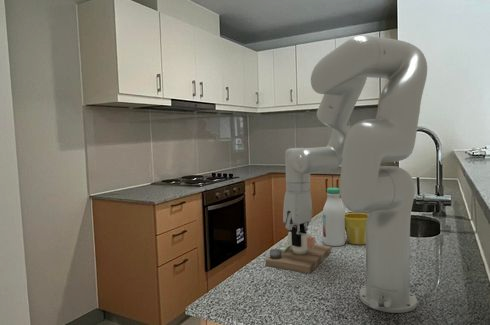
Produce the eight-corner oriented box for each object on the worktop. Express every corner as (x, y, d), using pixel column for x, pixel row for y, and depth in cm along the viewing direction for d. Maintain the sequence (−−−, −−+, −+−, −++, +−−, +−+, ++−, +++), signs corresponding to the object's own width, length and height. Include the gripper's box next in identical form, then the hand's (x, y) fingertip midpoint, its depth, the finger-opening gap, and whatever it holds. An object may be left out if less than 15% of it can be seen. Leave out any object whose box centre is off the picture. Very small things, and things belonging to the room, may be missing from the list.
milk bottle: (349, 242, 127) (348, 187, 126) (338, 248, 122) (337, 190, 120) (330, 238, 132) (329, 186, 131) (319, 244, 127) (318, 188, 125)
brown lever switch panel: (309, 273, 100) (309, 260, 100) (265, 265, 108) (265, 253, 107) (331, 252, 117) (330, 240, 117) (292, 246, 125) (291, 235, 124)
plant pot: (342, 237, 134) (342, 211, 133) (371, 238, 131) (371, 212, 130) (342, 245, 124) (342, 218, 123) (373, 247, 121) (373, 219, 120)
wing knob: (286, 251, 113) (286, 233, 113) (294, 248, 116) (294, 230, 116) (309, 257, 107) (309, 238, 107) (317, 253, 110) (316, 234, 110)
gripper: (302, 183, 119) (303, 236, 121) (272, 189, 107) (274, 248, 109) (322, 184, 114) (323, 240, 115) (292, 191, 102) (294, 253, 104)
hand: (299, 244), depth 112 cm, fingers closed on wing knob, 2 cm apart
